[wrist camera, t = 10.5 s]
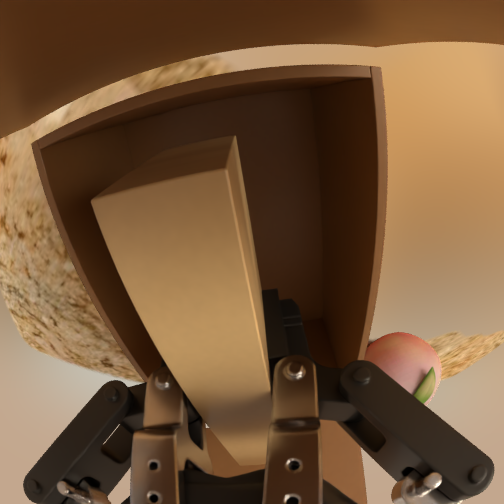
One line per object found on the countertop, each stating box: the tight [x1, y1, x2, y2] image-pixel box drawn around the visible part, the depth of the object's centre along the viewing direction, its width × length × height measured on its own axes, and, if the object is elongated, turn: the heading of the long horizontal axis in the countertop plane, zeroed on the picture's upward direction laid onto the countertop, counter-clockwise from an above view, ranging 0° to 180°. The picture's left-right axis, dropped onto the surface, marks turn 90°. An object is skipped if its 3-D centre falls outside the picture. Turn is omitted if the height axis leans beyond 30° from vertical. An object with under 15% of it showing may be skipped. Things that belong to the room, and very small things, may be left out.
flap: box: [206, 419, 367, 504], centre depth 12 cm, size 9×12×1 cm
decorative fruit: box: [364, 332, 441, 406], centre depth 20 cm, size 9×8×10 cm
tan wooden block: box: [91, 135, 273, 466], centre depth 10 cm, size 14×2×5 cm, turn 9°
